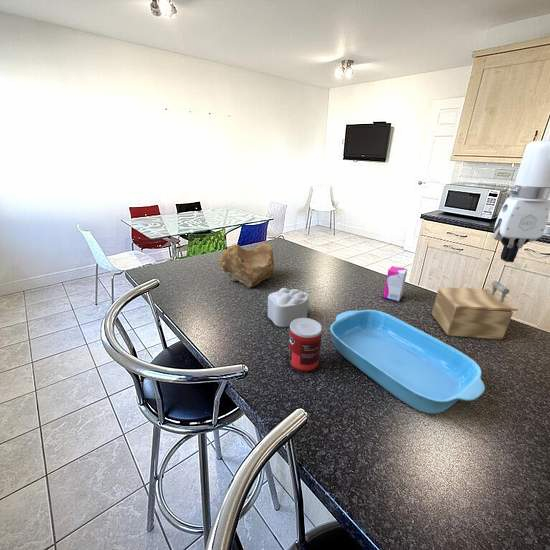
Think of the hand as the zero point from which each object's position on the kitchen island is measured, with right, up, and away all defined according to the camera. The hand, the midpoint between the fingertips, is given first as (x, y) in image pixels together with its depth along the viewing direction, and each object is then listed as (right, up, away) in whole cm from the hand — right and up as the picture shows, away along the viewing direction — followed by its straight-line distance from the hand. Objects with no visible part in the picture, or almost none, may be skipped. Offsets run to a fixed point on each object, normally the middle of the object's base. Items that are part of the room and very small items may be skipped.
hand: (506, 260), depth 82 cm
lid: (-4, -12, +7) cm, 14 cm away
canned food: (-58, -27, -6) cm, 64 cm away
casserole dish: (-35, -28, -7) cm, 45 cm away
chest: (-5, -20, +11) cm, 24 cm away
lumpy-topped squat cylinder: (-61, -18, +14) cm, 65 cm away
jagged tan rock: (-75, -7, +38) cm, 84 cm away
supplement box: (-21, -13, +28) cm, 37 cm away
